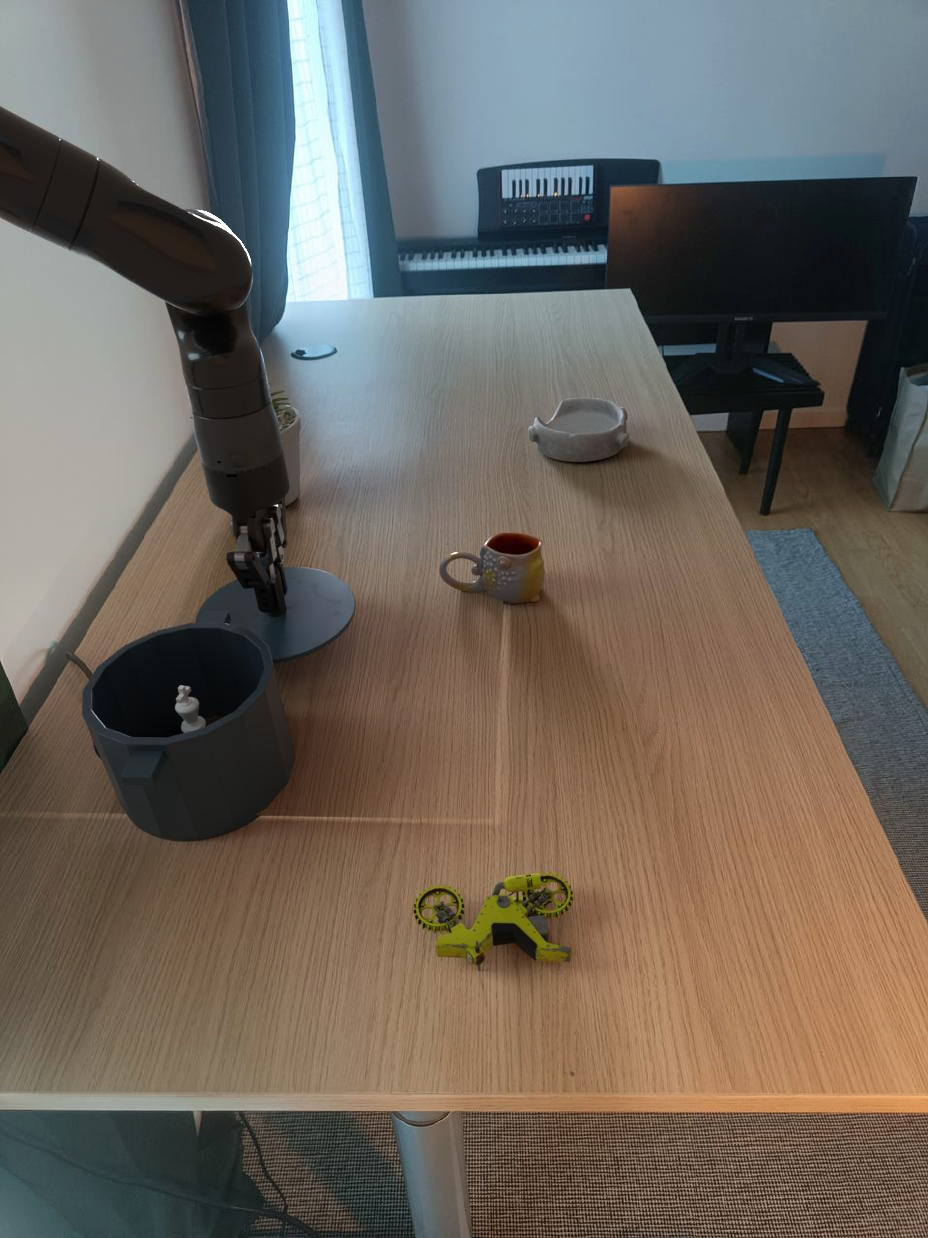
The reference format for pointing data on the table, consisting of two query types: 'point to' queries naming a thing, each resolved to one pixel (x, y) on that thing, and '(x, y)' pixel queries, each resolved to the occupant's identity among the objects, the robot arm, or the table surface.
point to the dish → (582, 430)
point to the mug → (503, 568)
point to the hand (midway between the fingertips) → (273, 601)
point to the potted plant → (289, 443)
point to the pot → (198, 760)
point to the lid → (290, 612)
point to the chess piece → (188, 710)
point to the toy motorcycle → (499, 919)
